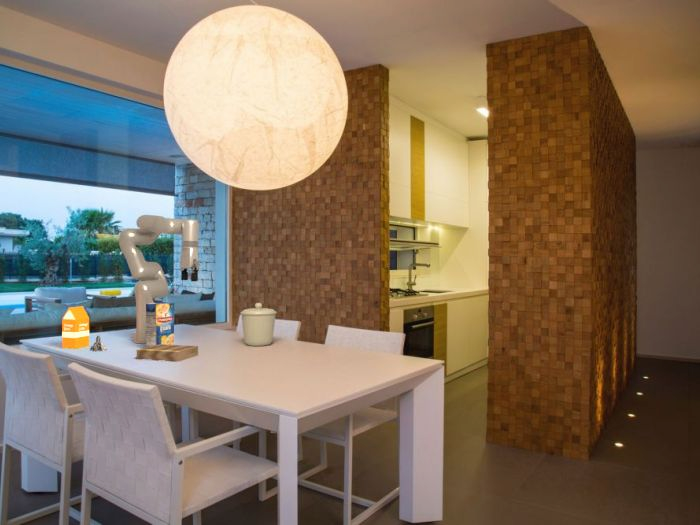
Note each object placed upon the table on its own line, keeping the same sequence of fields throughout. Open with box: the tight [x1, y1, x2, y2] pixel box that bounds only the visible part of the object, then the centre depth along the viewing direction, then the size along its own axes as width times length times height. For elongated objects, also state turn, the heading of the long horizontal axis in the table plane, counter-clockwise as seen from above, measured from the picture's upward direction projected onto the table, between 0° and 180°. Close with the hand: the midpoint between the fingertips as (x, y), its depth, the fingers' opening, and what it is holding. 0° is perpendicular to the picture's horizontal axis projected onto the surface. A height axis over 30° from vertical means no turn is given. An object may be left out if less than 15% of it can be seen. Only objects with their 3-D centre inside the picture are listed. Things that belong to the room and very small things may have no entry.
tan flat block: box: [136, 344, 199, 362], centre depth 238 cm, size 20×16×4 cm
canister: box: [240, 302, 277, 347], centre depth 273 cm, size 18×18×21 cm
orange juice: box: [61, 305, 90, 350], centre depth 260 cm, size 8×9×20 cm
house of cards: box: [89, 335, 108, 352], centre depth 251 cm, size 9×9×8 cm
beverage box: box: [145, 301, 175, 348], centre depth 258 cm, size 7×11×22 cm, turn 151°
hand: (189, 280), depth 262 cm, fingers open, 9 cm apart
